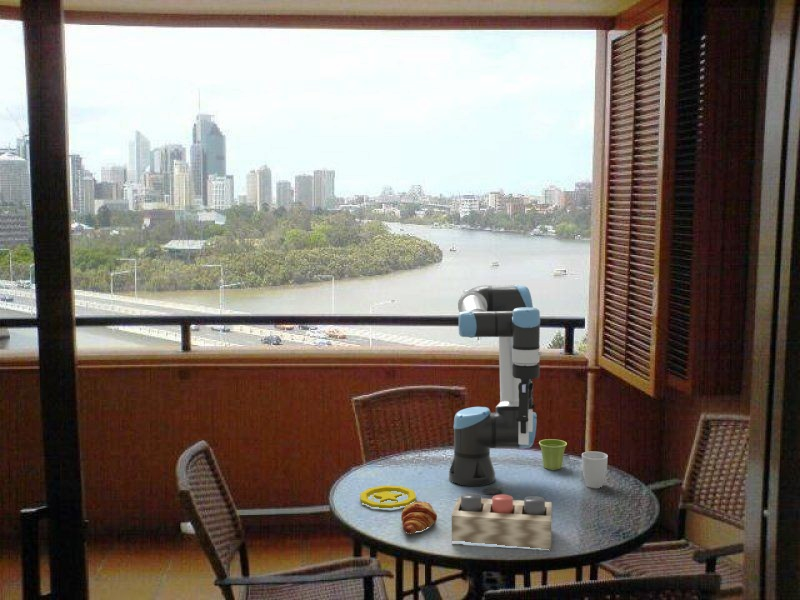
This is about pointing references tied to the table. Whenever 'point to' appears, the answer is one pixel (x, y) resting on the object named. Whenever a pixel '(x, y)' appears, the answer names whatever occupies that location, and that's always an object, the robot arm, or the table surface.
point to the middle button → (502, 504)
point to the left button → (471, 502)
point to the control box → (502, 526)
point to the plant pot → (552, 453)
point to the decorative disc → (387, 496)
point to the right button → (534, 506)
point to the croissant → (417, 517)
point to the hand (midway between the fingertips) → (525, 437)
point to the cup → (594, 468)
